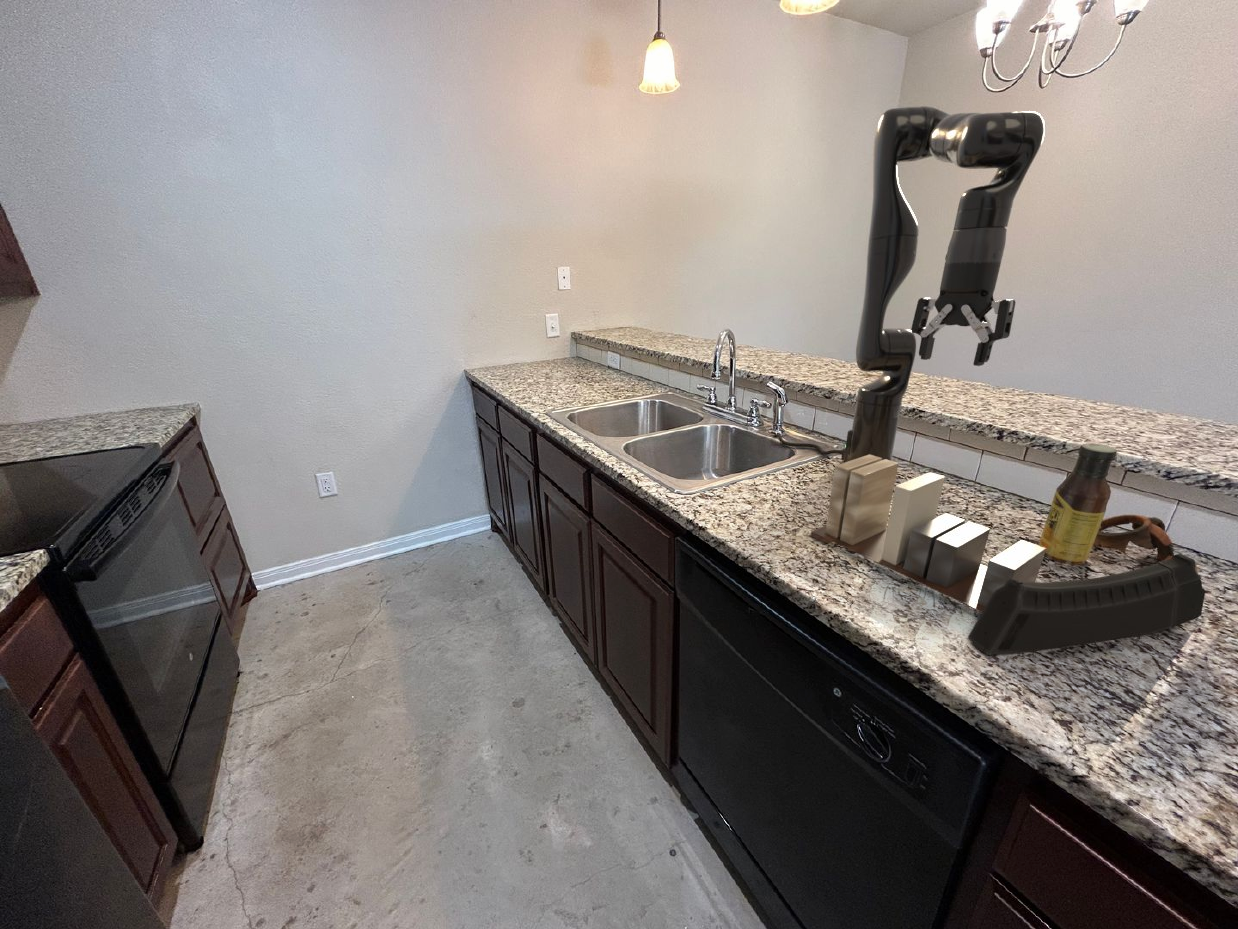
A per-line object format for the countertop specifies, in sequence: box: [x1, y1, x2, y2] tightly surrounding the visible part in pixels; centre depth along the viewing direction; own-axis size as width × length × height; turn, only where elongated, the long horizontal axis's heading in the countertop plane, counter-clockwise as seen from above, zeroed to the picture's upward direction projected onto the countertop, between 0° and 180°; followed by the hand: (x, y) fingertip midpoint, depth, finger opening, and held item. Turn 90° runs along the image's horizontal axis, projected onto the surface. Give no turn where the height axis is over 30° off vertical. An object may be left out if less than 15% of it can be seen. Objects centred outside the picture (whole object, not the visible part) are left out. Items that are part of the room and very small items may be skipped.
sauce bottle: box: [1038, 442, 1118, 566], centre depth 78 cm, size 6×6×20 cm
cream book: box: [881, 471, 946, 565], centre depth 80 cm, size 2×10×13 cm, turn 123°
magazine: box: [967, 553, 1206, 656], centre depth 62 cm, size 17×3×30 cm
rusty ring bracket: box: [1092, 514, 1175, 561], centre depth 82 cm, size 12×10×8 cm
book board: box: [810, 455, 1046, 613], centre depth 79 cm, size 31×13×14 cm, turn 32°
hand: (950, 362), depth 85 cm, fingers open, 8 cm apart
